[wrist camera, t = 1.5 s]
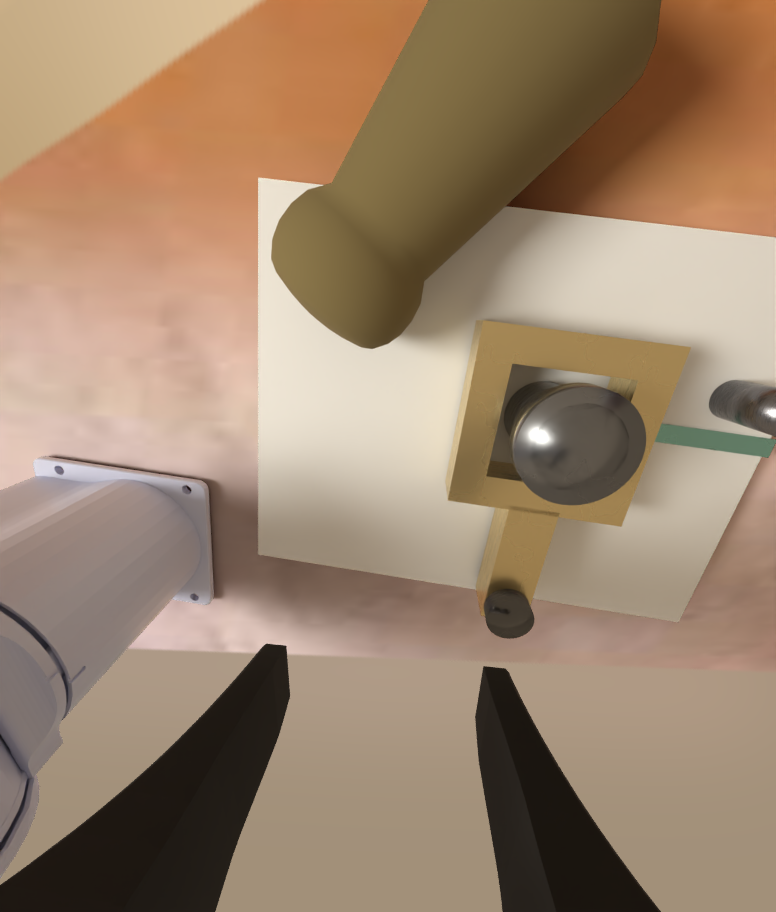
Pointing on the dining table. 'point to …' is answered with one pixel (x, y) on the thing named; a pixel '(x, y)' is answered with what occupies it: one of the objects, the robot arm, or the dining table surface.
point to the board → (440, 389)
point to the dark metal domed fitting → (615, 435)
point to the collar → (498, 483)
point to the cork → (453, 148)
